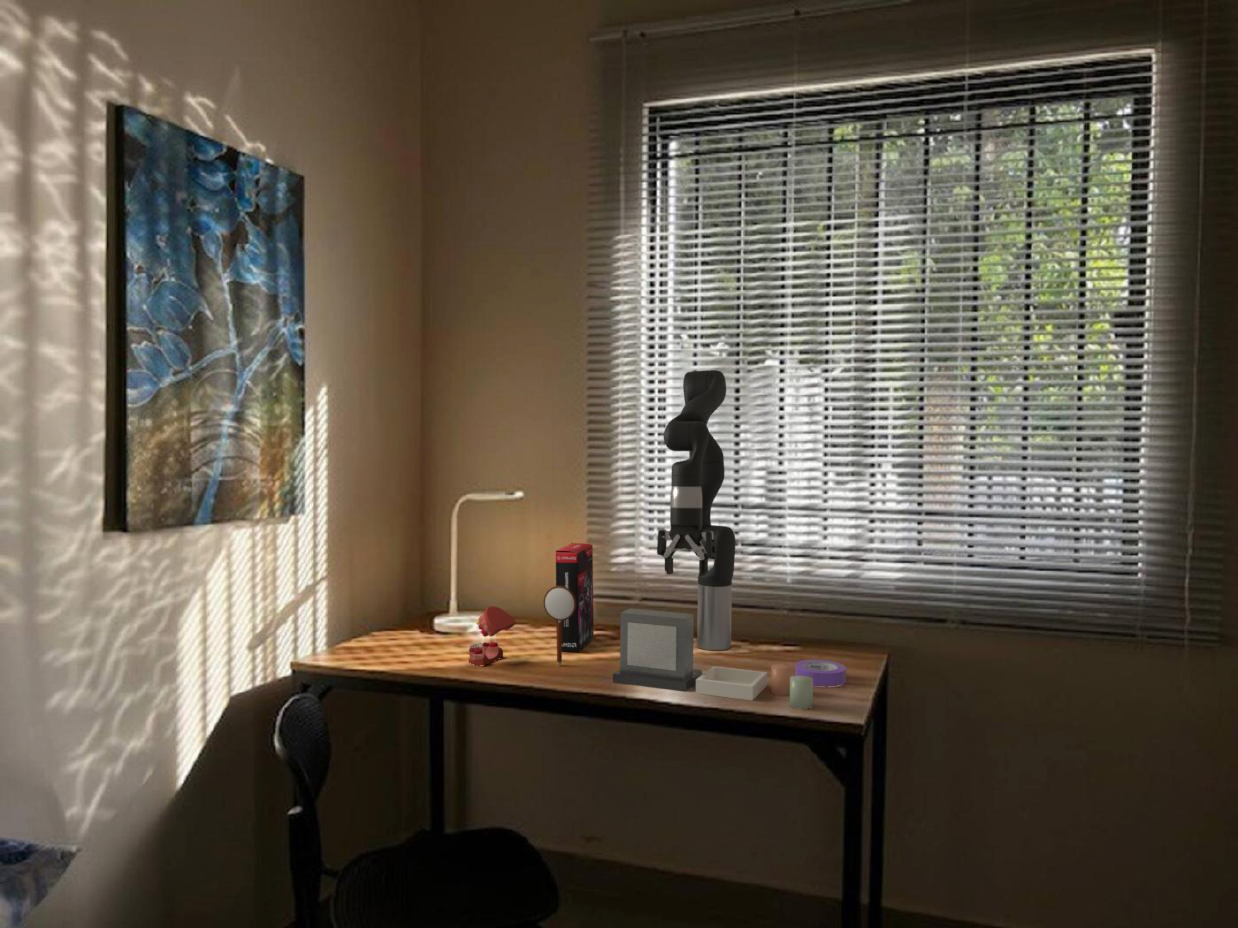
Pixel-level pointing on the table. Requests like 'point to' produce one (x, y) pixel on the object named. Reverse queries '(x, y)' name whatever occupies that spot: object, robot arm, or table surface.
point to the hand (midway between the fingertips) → (685, 574)
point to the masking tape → (822, 672)
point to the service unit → (657, 650)
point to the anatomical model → (490, 626)
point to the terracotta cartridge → (781, 679)
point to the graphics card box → (577, 593)
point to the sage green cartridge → (801, 692)
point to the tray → (731, 683)
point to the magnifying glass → (559, 610)
